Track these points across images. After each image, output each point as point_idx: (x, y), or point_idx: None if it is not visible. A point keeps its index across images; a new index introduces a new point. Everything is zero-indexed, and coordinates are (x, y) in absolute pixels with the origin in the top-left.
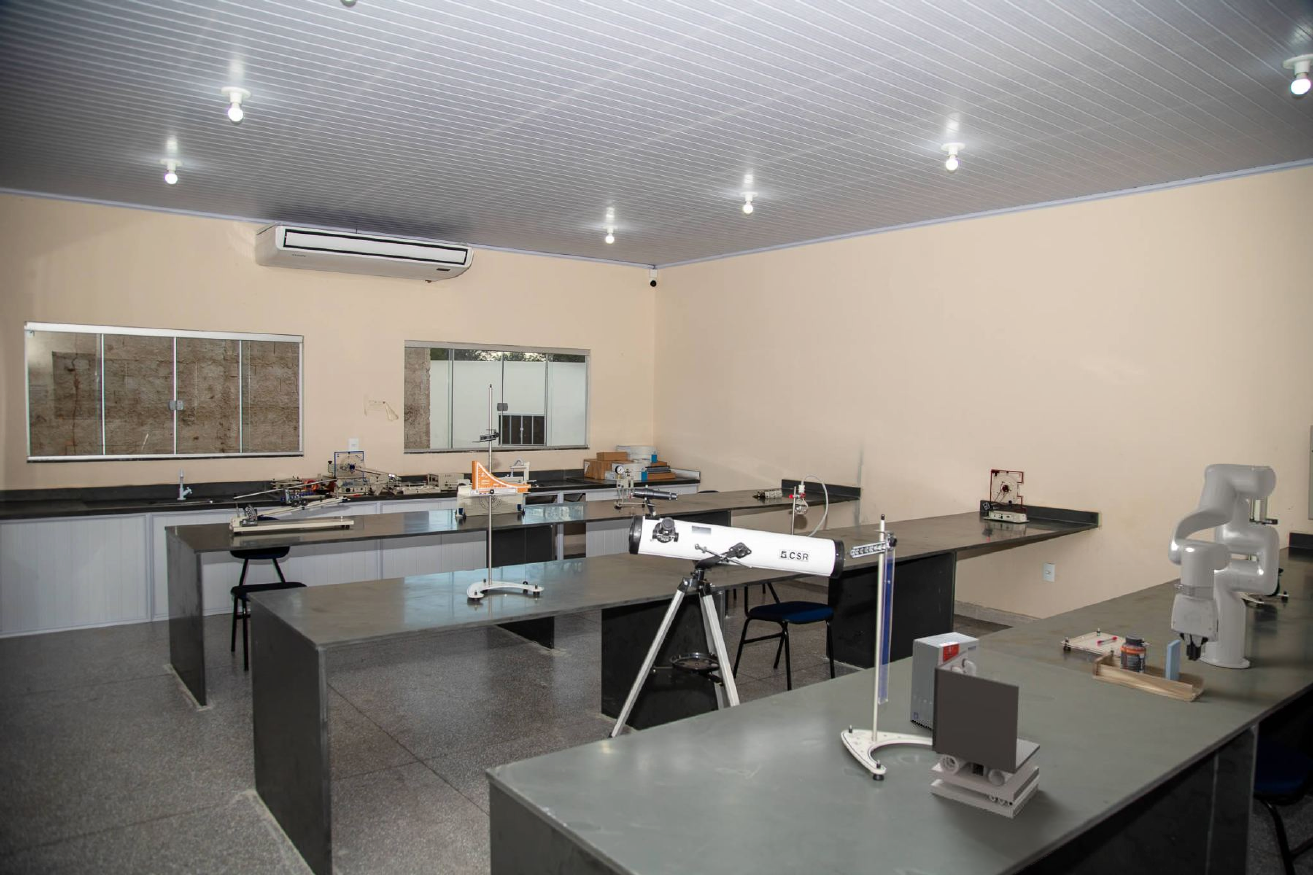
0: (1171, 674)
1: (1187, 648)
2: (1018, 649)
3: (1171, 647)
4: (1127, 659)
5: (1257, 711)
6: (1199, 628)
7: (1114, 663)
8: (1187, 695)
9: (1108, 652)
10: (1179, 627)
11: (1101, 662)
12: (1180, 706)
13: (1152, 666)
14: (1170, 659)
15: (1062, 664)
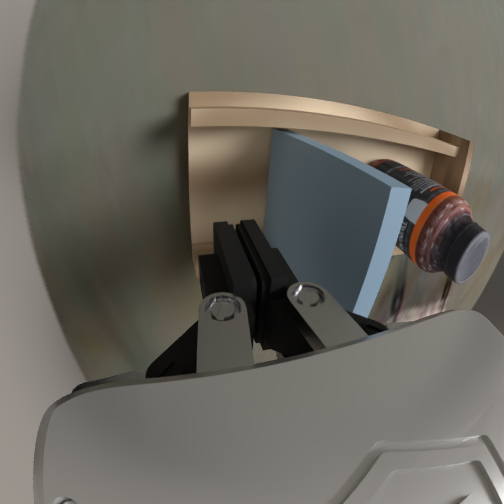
0: (292, 160)
1: (287, 274)
2: (496, 222)
3: (383, 186)
4: (432, 180)
5: (24, 192)
6: (251, 489)
7: None
8: (203, 106)
9: None
10: (466, 349)
11: (454, 175)
12: (204, 18)
13: None
14: (336, 155)
15: (469, 191)
